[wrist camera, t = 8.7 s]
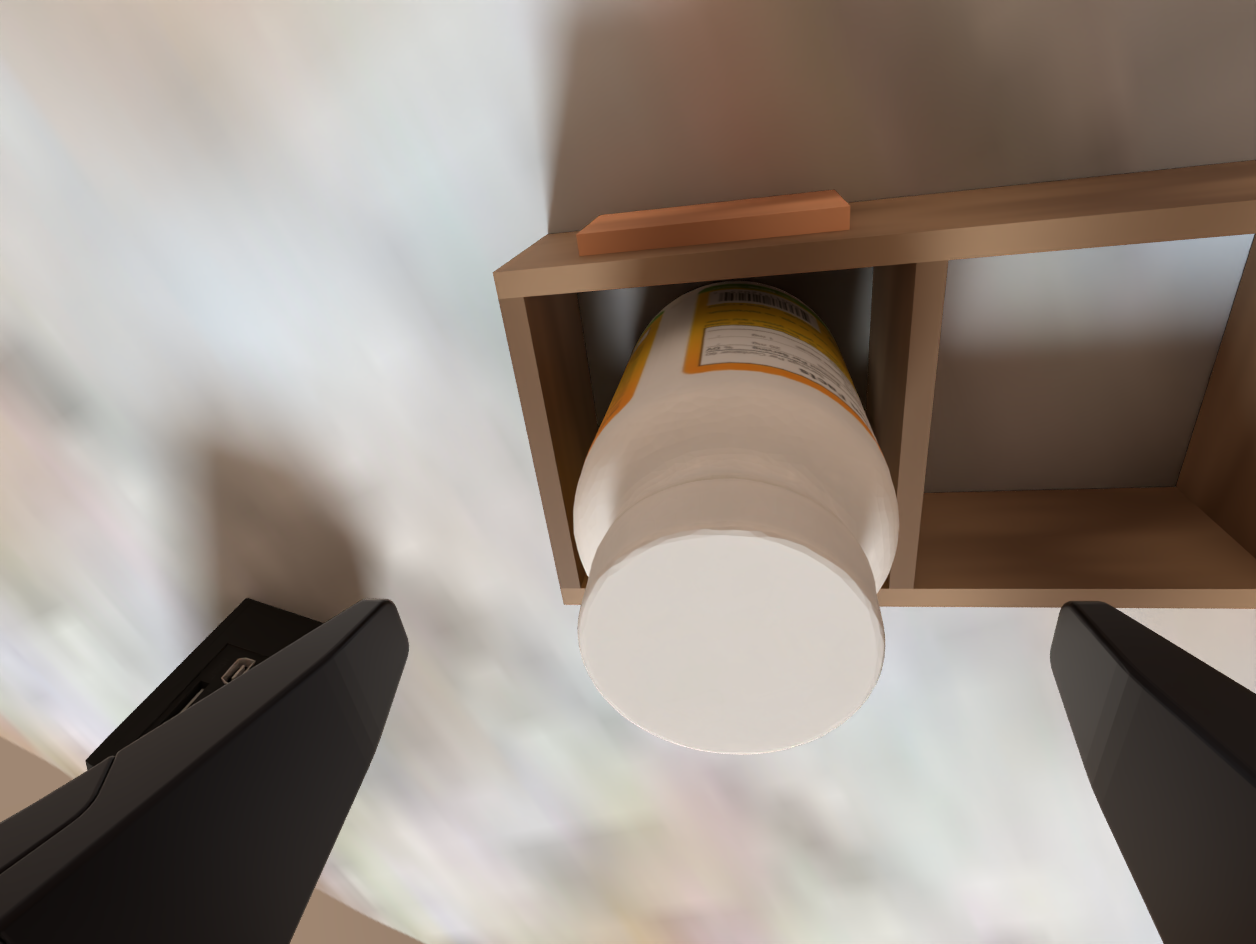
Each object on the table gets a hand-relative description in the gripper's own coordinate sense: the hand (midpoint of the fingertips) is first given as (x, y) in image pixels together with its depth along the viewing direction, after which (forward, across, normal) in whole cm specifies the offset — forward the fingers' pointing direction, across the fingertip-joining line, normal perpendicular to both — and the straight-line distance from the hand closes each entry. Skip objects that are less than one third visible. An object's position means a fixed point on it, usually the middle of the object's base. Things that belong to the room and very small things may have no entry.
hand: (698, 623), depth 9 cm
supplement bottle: (+9, 0, 0) cm, 9 cm away
